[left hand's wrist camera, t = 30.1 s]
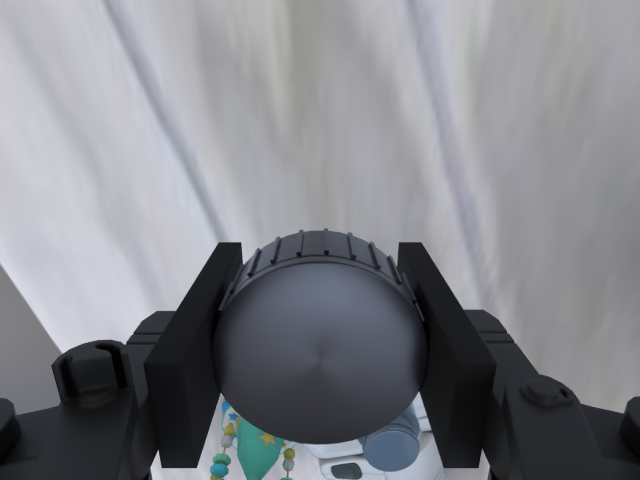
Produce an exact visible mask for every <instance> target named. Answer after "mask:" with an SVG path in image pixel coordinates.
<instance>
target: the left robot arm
mask: <svg viewBox="0 0 640 480" xmlns="http://www.w3.org/2000/svg"><path fill="white" fill-rule="evenodd" d="M241 264H243V260H242V246H241V242H219V243H218V245H217V246H216V248H215V250H214V251H213V253H212V254H211V256H210V258H209V259H208V261H207V262H206V264H205V266H204V267H203V269H202V270H201V272H200V274H199V275H198V277H197V278H196V280H195V282H194V283H193V285H192V286H191V288H190V290H189V291H188V293H187V294H186V296H185V298H184V299H183V301H182V302H181V304H180V306H179V307H178V309H177V310H176V311H156V312H155V313H153V314H152V315H150V316H149V317H147V318H146V319H145V320H143V321H142V322H141V323H140V325H139V326H138V327H137V329H136V330H135V331H134V334H133V335H132V336H131V337H130V338H129V340H128V341H127V342H126V345H124V344H123V343H121V342H118V341H114V340H97V341H93V342H88V343H84V344H81V345H79V346H77V347H74V348H72V349H69V350H68V351H67V352H65V353H64V354H62V355H61V356H59V357H58V358H57V359H56V361H55V362H54V363H53V364H52V365H51V366H52V370H53V374H54V377H55V381H56V385H57V388H58V392H59V396H60V399H61V402H60V405H59V406H56V407H52V408H49V409H44V410H40V411H35V412H30V413H25V414H21V415H17V414H16V411H15V408H14V405H13V403H12V402H10V401H9V400H8V399H4V398H0V480H152V475H151V469H150V467H151V465H152V463H153V460H154V458H155V456H156V453H157V451H158V449H159V455H160V461H161V466H162V468H197V465H198V462H199V459H200V456H201V453H202V450H203V447H204V444H205V440H206V437H207V434H208V431H209V428H210V425H211V422H212V418H213V415H214V412H215V409H216V406H217V403H218V400H219V396H220V393H221V391H220V389H219V387H218V385H217V382H216V380H215V377H214V373H213V365H212V356H211V341H212V336H213V331H214V328H215V325H216V323H217V320H218V318H219V315H220V314H218V313H217V312H218V309H219V307H220V305H221V303H222V300H223V298H224V296H225V294H226V291H227V289H228V287H229V285H230V282H233V281H234V279H235V277H236V274H237V272H238V270H239V267H240V265H241ZM397 268H398V269H399V270H400V272H401V273H403V272H404V273H405V275H406V277H407V279H408V281H409V284H410V286H411V288H412V291H413V293H414V295H415V297H416V300H417V303H418V305H419V307H420V310H421V312H422V314H423V316H424V319H425V321H426V324H424V326H425V329H426V332H427V337H428V341H429V358H428V367H427V373H426V376H425V380H424V382H423V384H422V387H421V389H420V391H419V392H420V396H421V399H422V402H423V405H424V408H425V411H426V414H427V418H428V421H429V424H430V427H431V430H432V433H433V436H434V440H435V443H436V446H437V449H438V452H439V455H440V458H441V462H442V465H443V468H479V462H480V456H481V451H482V448H483V451H484V453H485V455H486V458H487V460H488V462H489V464H490V469H489V475H488V480H640V396H639V397H634V398H632V399H631V400H630V401H628V402H627V405H626V409H625V412H624V414H623V413H618V412H614V411H609V410H605V409H600V408H595V407H591V406H587V405H584V404H580V401H579V400H578V398H577V397H576V395H575V394H574V393H573V391H572V390H570V389H569V388H568V387H566V386H565V385H564V384H562V383H561V382H559V381H557V380H554V379H552V378H550V377H548V376H544V375H540V374H538V372H537V371H536V370H535V368H534V367H533V366H532V364H531V363H530V362H529V360H528V359H527V358H526V356H525V355H524V353H523V352H522V351H521V349H520V348H519V347H518V345H517V344H516V343H514V340H513V339H512V337H511V336H510V335H509V334H507V331H506V329H505V328H504V327H503V325H502V324H501V323H500V321H499V320H498V319H496V318H495V317H493V316H492V315H490V314H489V313H488V312H486V311H485V310H463V308H462V307H461V305H460V304H459V302H458V300H457V299H456V297H455V296H454V294H453V292H452V291H451V289H450V288H449V286H448V284H447V283H446V281H445V280H444V278H443V276H442V275H441V273H440V272H439V270H438V268H437V267H436V265H435V264H434V262H433V260H432V259H431V257H430V256H429V254H428V252H427V251H426V249H425V248H424V246H423V244H422V243H421V242H399V250H398V264H397Z"/></svg>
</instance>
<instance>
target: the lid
mask: <svg viewBox="0 0 640 480" xmlns="http://www.w3.org/2000/svg"><path fill="white" fill-rule="evenodd" d="M217 313H218V314H220V315H219V318H218V320H217V323H216V325H215V328H214V331H213V336H212V341H211V356H212V365H213V373H214V377H215V380H216V382H217V385H218V387H219V389H220V391H221V393H222V394H223V396H224V398H225V399H226V401H227V402H228V403H229V404H230V406H231V407H232V408H233V409H234V410H235V411H236V412H237V413H238V414H239V415H240V416H241V417H242V418H243V419H245V420H246V421H247V422H249V423H250V424H252V425H253V426H255V427H256V428H258V429H260V430H262V431H263V432H265V433H268V434H270V435H272V436H275V437H277V438H281V439H284V440H287V441H292V442H297V443H302V444H313V445H328V444H337V443H343V442H348V441H353V440H356V439H359V438H362V437H365V436H368V435H370V434H372V433H374V432H377V431H378V430H380V429H382V428H384V427H385V426H387V425H388V424H390V423H391V422H392V421H394V420H395V419H396V418H398V417H399V416H400V415H401V414H402V413H403V412H404V411H405V410H406V409H407V408H408V407H409V405H410V404H411V403H412V402H413V400H414V399H415V397H416V396H417V394H418V392H419V391H420V389H421V387H422V384H423V382H424V380H425V376H426V373H427V367H428V358H429V341H428V337H427V332H426V329H425V326H424V324H426V321H425V319H424V316H423V314H422V312H421V310H420V307H419V305H418V303H417V300H416V297H415V295H414V293H413V291H412V288H411V286H410V284H409V281H408V279H407V277H406V275H405V273H404V272H403V273H401V272H400V270H399V269H398V268H397V266H396V265H395V263H394V260H393V258H392V257H391V256H390V255H389V256H388V257H387V256H386V255H385V254H384V253H383V252H382V251H380V250H379V249H378V248H376V247H375V244H374V243H373V242H370V243H368V242H366V241H364V240H362V239H359V238H357V237H354V236H353V235H352V233H348V234H344V233H340V232H332V231H328V229H324V231H308V232H303V230H299V233H296V234H292V235H288V236H286V237H283V238H280V237H277V238H276V240H275V241H274V242H272V243H270V244H268V245H267V246H265V247H263V248H262V249H261V250H260V249H259V248H258V249H256V251H255V254H254V255H253V256H252V257H251V258H250V259H249V260H248V261H247V262H246V264H245V265H244V264H241V265H240V267H239V270H238V272H237V274H236V277H235V279H234V281H233V282H230V285H229V287H228V289H227V291H226V294H225V296H224V298H223V300H222V303H221V305H220V307H219V309H218V312H217Z"/></svg>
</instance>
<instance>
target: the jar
mask: <svg viewBox="0 0 640 480" xmlns="http://www.w3.org/2000/svg"><path fill="white" fill-rule="evenodd" d="M419 431H420V425H419V421H418V418H417V414H416V411H415V407H414V404H413V402H412V403H411V404H410V405H409V407H408V408H407V409H406V410H405V411H404V412H403V413H402V414H401V415H400V416H399V417H398V418H396V419H395V420H394V421H392V422H391V423H390V424H388V425H387V426H385V427H384V428H382V429H380V430H378V431H377V432H374V433H372V434H370V435H368V436H365V437H362V438H359V439H358V441H359V443H360V444H361V445H362V450H363V453H364V455H365V458H366V460H367V462H368V463H369V464H370V465H371V466H372V467H374V468H376V469H378V470H381V471H385V472H395V471H400V470H403V469H405V468H407V467H409V466H410V465H412V464H413V463H414V462H415V460H416V459H417V457H418V454H419V451H420V444H419V440H418V435H419Z"/></svg>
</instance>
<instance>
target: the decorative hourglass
mask: <svg viewBox="0 0 640 480" xmlns="http://www.w3.org/2000/svg"><path fill="white" fill-rule="evenodd" d="M222 410H223V419H222V427H223V432H224V436H223V437H222V439H221V445H222V447H224V451H223V453H221V454H216V455H215V456H214V457H213V462H214V465H212V466H211V467H210V472H211V474H212V475H211V480H218V479H219V480H224V479H221V478H223V477H224V476H225V475H227V474H228V468H227V467H226V466H228V465H229V464H230V462H231V459H230V457H229V456H228V455H226V454H224V453H225V449H226V448H229V447H230V446H231V445H232V446H233V447H234V448H236V449H237V456H238V459H239V461H240V463H241V466H242V468H243V471H244V473H245V476H246V478H247V480H261V479H262V478H263V477H264V476H265V474H266V473H267V472H268V471H269V470H270V469H271V467H272V466H273V465H274V464H275V462H276V461H277V459H278V457H279V455H280V454H282V453H284V458H285V460H284V462H283V464H282V465H283V468H284V470H286V471H287V477H285V478H282V479H281V480H293V479H291V478H289V477H288V473H289V471H291V470H292V469H293V468H294V461H293V458H294V457H295V452H294V450H293V449H292V447H293V446H294V445H295V444H296V443H297V442H292V441H287V440H284V439H281V438H277V437H275V436H272V435H270V434H268V433H265V432H263V431H262V430H260V429H258V428H256V427H255V426H253V425H252V424H250V423H249V422H247V421H246V420H245V419H243V418H242V417H241V416H240V415H239V414H238V413H237V412H236V411H235V410H234V409H233V408H232V407H231V406H230V404H229V403H228V402H227V401H225V402H224V403H223V405H222Z"/></svg>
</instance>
